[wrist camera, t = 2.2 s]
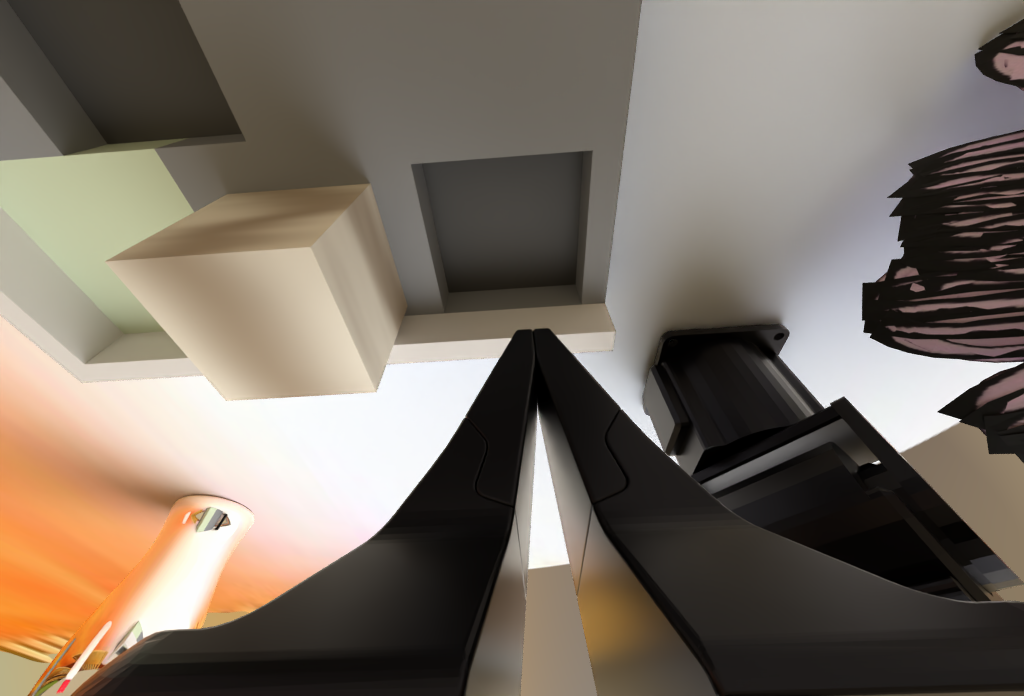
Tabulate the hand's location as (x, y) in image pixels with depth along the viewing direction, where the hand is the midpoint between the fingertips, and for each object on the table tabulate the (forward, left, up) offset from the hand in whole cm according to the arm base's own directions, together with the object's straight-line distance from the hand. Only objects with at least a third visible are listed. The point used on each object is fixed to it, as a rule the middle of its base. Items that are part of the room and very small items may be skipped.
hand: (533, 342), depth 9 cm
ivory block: (+8, 0, -6) cm, 10 cm away
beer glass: (+28, +23, -8) cm, 37 cm away
